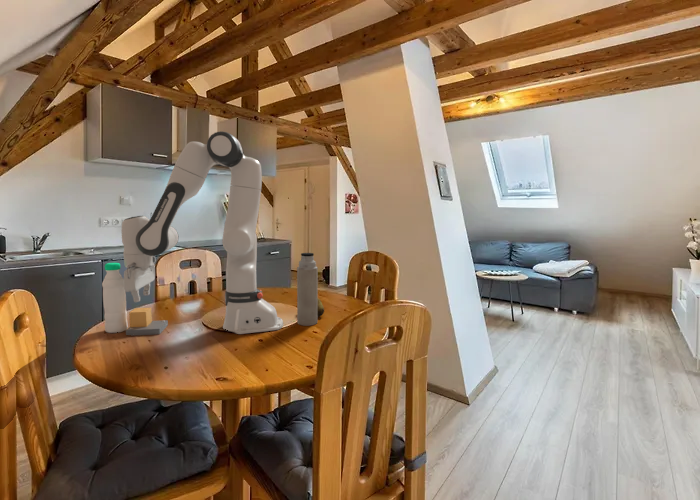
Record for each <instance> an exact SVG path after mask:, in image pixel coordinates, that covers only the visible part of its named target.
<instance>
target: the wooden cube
mask: <svg viewBox="0 0 700 500" xmlns="http://www.w3.org/2000/svg"><path fill="white" fill-rule="evenodd" d="M128 314H129V315H128V316H129V327H147V326H148V325H149V324H150V323H151V322H152V321H153V317H152V316H153V315H152V307H135V308H133V309H132V310H131V311H129V312H128Z"/></svg>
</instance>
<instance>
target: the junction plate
mask: <svg viewBox="0 0 700 500" xmlns="http://www.w3.org/2000/svg"><path fill="white" fill-rule="evenodd" d="M168 326H169V321H168V320H165V319H164V320H163V319H162V320H152V322H151V323H150V324H149V325H148V326H147V327H130V326H128V328H127V329H126V330H125V335H131V336H151V335H161V334H162V333H163V332H164V330H165V329H166V328H168Z"/></svg>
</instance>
